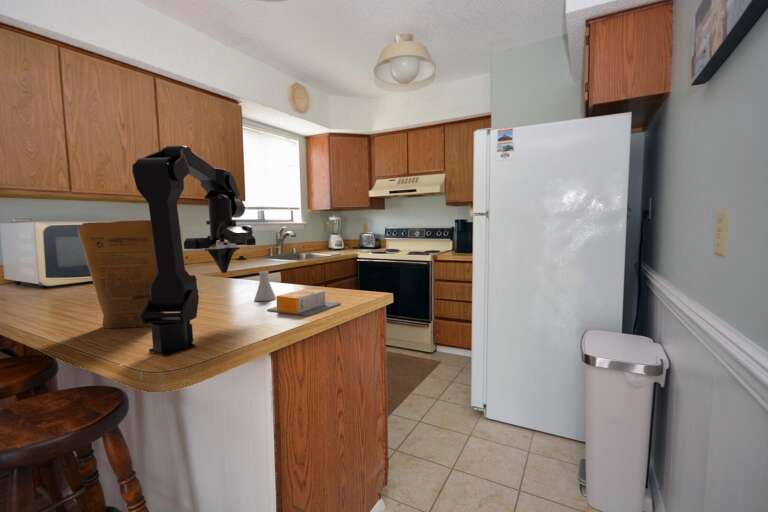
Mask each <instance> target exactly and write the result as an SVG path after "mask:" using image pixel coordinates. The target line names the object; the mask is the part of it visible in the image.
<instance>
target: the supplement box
mask: <svg viewBox="0 0 768 512" xmlns="http://www.w3.org/2000/svg"><path fill="white" fill-rule="evenodd" d="M275 297H276V298H275V300H276V307H277V311H282V312H288V313H295V314H298V313H301V312H304V311H307V310H310V309H313V308H316V307H320V306H323V305H325V301H326V291H325V290H324V289H323V290H321V289H310V288H304V289H300V290H297V291H292V292H291V291H290V292H288V293H284V294H279V295H275Z"/></svg>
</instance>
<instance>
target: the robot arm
mask: <svg viewBox="0 0 768 512" xmlns="http://www.w3.org/2000/svg"><path fill="white" fill-rule="evenodd" d="M131 168H132V169H131V170H132V173H131V174H132V176H133V180H134V184H135V187H136V190H137V191H138V192H139V194H140V195H141V196H142V197H143V198H144V199H145V201H146V202H147V204H148V211H149V217H150V219H149V220H151V227H152V234H153V241H154V249H155V256H156V264H157V272H158V273H157V275H156V277H155V279H154V281H153V283H152V285H151V297H150V299H149V300H148V302H147V304H146V306H145V308H144V310H143V312H142V314H141V318H142V321H143V324H151V327H150V329H151V337H152V338H151V339H152V348H149V349H148V351H149V353H152V354H156V355H159V356H163V357H169V356H173V355H175V354H178V353H181V352H184V351H187V350H190V349H193V348H195V347H197V343H193V342H194V333H193V324H192V323H191V321H192V320H194V319H196V318H197V316H198V307H199V301H200V297H199V290H198V283H197V282H198V281H197V277H196V276H195V274H194V275H193V274H189V272H188V271H187V270H186V268H185V260H184V259H185V258H184V251H183V249H184V250H203V249H204V251H205V252H208V253H209V254H210V256H211V257H212V259H213V260H214V262H215V264H216V265H217V267H218V268H219V270H220V272H221V273H222V274H226V273H227V272H228V269H229V266H230V263H231V260H232V257H233V255H234V253H235V252H237V250H240V248H241V247H240V246H257V245H256V243H257V242H256V241H257V240H256V238H255V237H254V235H253V227H252V226H251V225H247V224H246V225H245V224H243V225H242V227H241V226H237V221H236V220H235V219H236V218H237V219H238V218H240V217H242V216H243V215H244V214H245V211H246V206H245V204H244V202H243V201H241V200H240V199H239V197H240V196H241V194H240V191H239V189H238V186H237V183H236V179H235V177H234V175H233V174H232V173H231V172H230V171H229V170H228V169H226V168H219V167H214V166H212V164H210V163H208V162H207V161H206V160H204V159H203V158H202V157H200V156H198V155H197V154H196V153H195V152H193V151H192V149H191V148H190V147H189V146H186V145H166V146H165V147H163V148H162V149H160V150H158V151H156V152H153V153H151V154H148V155H146V156H143V157H142V158H137V160H136V161H135V163H133V164H132V167H131ZM188 175H189V176H191V177H192V178H194V179H196V180H198V181H200V187H202V189H204V190H205V191H206V194H205V196H204V200H207V205H208V218H209V219H208V220H206V225H209V235H207V237H188V238H186V237H185V240H184V241H183V242H182V236H181V235H182V234H181V226H180V220H179V219H180V218H179V211H178V201H179V199H180V197H181V195H182V193H183V191H184V189H185V187H184V186H185V185H184V183H185V181H184V180H185V178H186V177H187V176H188ZM233 218H234V220H233ZM238 246H239V247H238ZM162 312H164V313H162Z"/></svg>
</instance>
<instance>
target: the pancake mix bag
mask: <svg viewBox="0 0 768 512" xmlns="http://www.w3.org/2000/svg"><path fill="white" fill-rule="evenodd" d="M77 236H78V240H79V241H80V244H81V247H82V250H83V253H84V254H83V255H84V257H85V258H84V259H85V261H86V265H87V268H88V270H89V274H90V277H91V280H92V283H93V286H94V289H95V293H96V297H97V300H98V305H99V306H100V309H101V312H102V315H103V317H102V318H103V319H102V327H103V328H104V329H107V330H109V329H110V330H111V329H128V328H151V324H143V321H142V318H141V314H142V312H143V310H144V308H145V306H146V304H147V302H148V300H149V299H150V297H151V285H152V283H153V281H154V279H155V277H156V275H157V273H158V272H157V264H156V256H155V249H154V241H153V234H152V227H151V219H149V220H143V219H141V220H140V219H139V220H120V221H118V220H117V221H108V222H106V221H105V222H104V221H102V222H99V221H98V222H84V223H82V224H81V226H77ZM162 313H165V312H162Z"/></svg>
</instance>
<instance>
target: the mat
mask: <svg viewBox="0 0 768 512" xmlns="http://www.w3.org/2000/svg"><path fill="white" fill-rule="evenodd" d="M341 304H342V303H341V302H333V301H326V300H325V305H323V306H320V307H316V308H313V309H310V310H307V311H304V312H301V313H298V314H295V313H288V312H282V311H277V306H273V307H271V308H267V309H266V311H267V312H271V313H281V314H288V315H295V316H303V317H309V316H312V315H315V314H318V313H321V312H323V311H327V310H329V309H333V308H334V307H337V306H341Z"/></svg>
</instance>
